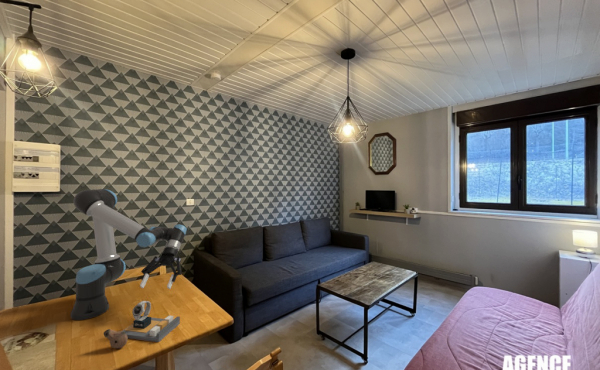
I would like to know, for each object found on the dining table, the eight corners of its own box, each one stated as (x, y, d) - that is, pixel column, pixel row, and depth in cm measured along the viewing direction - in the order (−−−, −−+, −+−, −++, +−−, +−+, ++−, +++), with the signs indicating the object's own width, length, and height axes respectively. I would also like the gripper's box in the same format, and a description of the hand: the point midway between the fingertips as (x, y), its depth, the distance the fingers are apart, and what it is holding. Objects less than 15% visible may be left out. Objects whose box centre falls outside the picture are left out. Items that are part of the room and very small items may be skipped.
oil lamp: (100, 352, 97) (100, 332, 97) (106, 345, 101) (106, 326, 101) (124, 350, 99) (125, 330, 99) (129, 343, 103) (130, 324, 103)
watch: (129, 330, 109) (130, 305, 109) (143, 320, 117) (144, 297, 117) (140, 331, 108) (140, 307, 108) (154, 321, 116) (154, 298, 116)
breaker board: (118, 336, 107) (118, 327, 107) (143, 319, 121) (143, 311, 121) (158, 342, 104) (159, 332, 104) (179, 323, 118) (179, 315, 118)
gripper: (195, 253, 139) (182, 290, 124) (152, 252, 139) (133, 289, 124) (191, 246, 134) (177, 285, 119) (146, 245, 134) (126, 283, 119)
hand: (155, 287), depth 122 cm, fingers open, 13 cm apart
